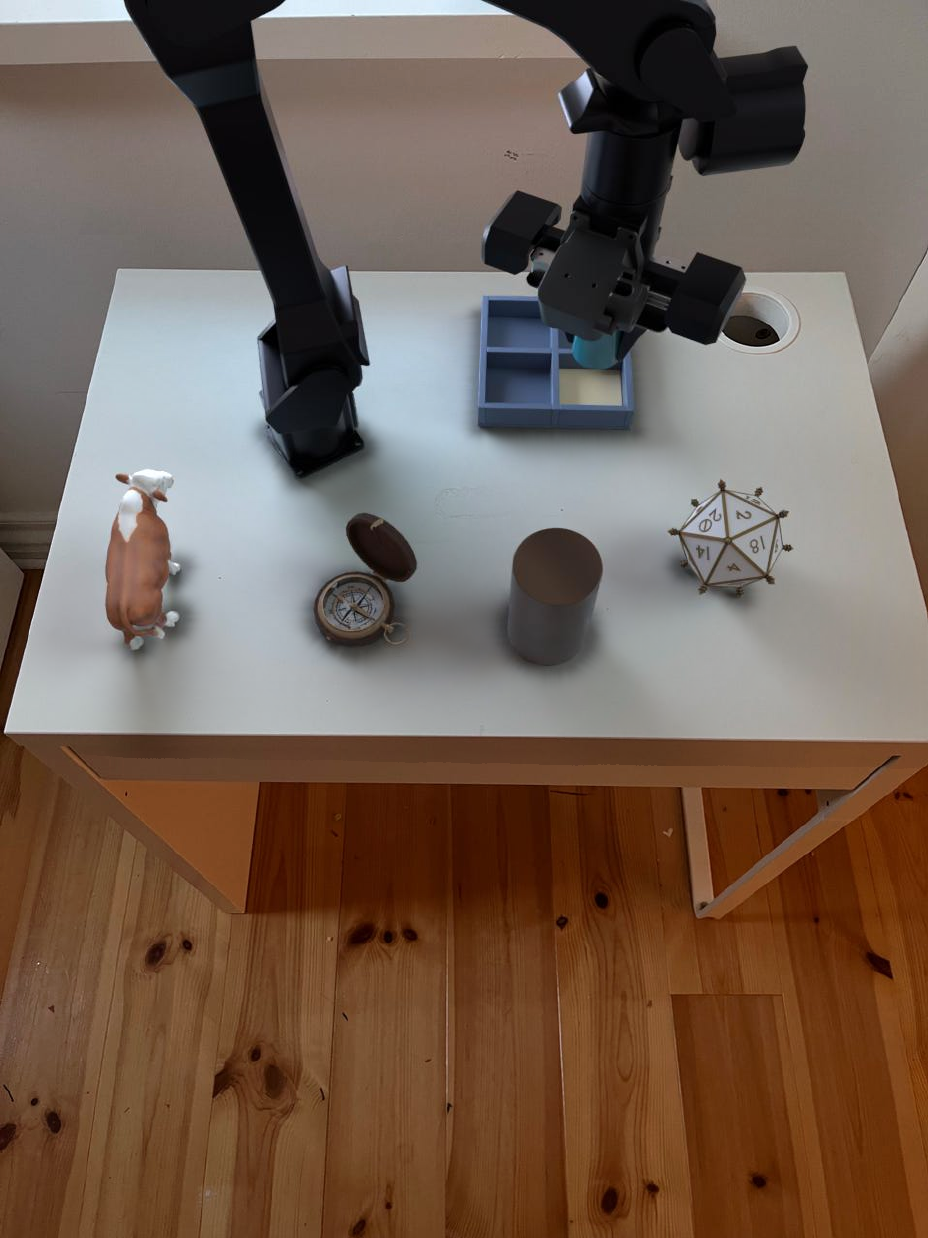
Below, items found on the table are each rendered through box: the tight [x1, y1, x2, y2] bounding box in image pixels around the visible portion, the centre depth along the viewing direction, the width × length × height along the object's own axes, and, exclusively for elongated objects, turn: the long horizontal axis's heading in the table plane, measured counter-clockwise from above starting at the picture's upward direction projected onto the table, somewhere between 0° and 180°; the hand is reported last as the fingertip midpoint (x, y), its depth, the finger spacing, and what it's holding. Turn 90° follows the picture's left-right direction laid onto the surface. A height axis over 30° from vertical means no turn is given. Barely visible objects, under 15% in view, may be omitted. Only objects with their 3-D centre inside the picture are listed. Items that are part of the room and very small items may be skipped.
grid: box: [477, 295, 635, 430], centre depth 78 cm, size 13×13×2 cm
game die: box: [667, 478, 795, 598], centre depth 67 cm, size 9×8×10 cm
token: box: [572, 330, 625, 370], centre depth 71 cm, size 4×4×4 cm
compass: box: [313, 512, 418, 647], centre depth 65 cm, size 8×8×7 cm
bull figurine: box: [104, 469, 182, 651], centre depth 66 cm, size 4×13×8 cm, turn 179°
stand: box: [507, 527, 604, 666], centre depth 64 cm, size 6×6×10 cm
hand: (596, 348), depth 73 cm, fingers closed on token, 4 cm apart
